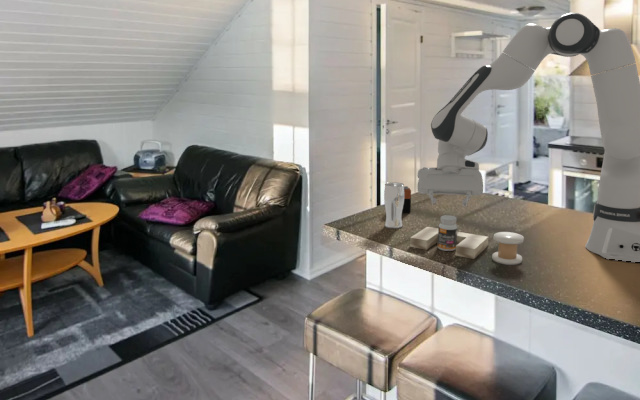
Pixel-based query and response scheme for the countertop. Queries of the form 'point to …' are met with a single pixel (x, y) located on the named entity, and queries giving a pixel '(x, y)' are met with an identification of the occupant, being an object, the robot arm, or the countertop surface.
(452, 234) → the pill bottle
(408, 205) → the battery
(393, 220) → the beer glass
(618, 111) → the robot arm
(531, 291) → the countertop surface
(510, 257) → the spool
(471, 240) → the notched board
